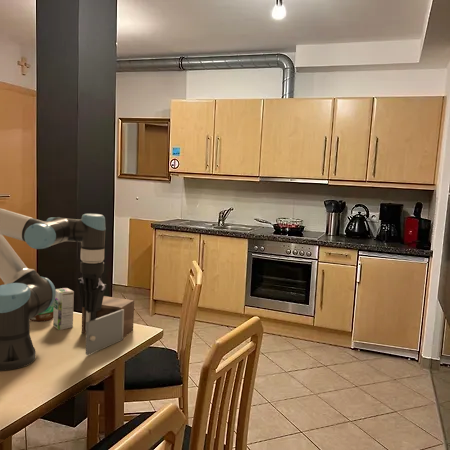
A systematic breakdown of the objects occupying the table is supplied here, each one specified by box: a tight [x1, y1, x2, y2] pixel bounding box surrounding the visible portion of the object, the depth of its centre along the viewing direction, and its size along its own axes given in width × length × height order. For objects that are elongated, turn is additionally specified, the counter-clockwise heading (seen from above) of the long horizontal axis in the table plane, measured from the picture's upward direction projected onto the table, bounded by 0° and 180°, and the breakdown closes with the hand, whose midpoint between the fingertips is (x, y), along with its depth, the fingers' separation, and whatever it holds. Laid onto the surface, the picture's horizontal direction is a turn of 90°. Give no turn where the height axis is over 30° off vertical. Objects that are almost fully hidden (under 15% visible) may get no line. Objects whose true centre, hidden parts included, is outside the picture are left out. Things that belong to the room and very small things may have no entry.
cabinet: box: [81, 295, 135, 339], centre depth 170 cm, size 16×10×12 cm, turn 75°
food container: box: [30, 302, 54, 323], centre depth 179 cm, size 12×6×10 cm, turn 143°
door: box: [85, 309, 124, 356], centre depth 155 cm, size 17×2×11 cm, turn 151°
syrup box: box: [52, 287, 75, 331], centre depth 172 cm, size 6×6×14 cm
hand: (90, 329), depth 152 cm, fingers closed
